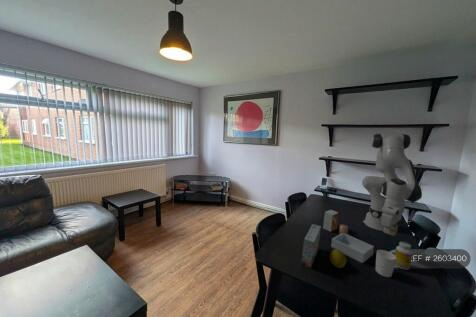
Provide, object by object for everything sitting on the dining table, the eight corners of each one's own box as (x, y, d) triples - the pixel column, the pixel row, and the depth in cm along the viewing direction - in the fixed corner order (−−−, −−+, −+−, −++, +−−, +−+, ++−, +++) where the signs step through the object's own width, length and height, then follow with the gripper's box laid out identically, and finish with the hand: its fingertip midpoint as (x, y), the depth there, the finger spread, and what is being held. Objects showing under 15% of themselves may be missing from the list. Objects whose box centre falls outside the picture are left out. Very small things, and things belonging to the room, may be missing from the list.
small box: (330, 232, 137) (332, 214, 135) (322, 228, 142) (324, 211, 140) (337, 229, 141) (339, 212, 140) (329, 225, 147) (330, 209, 145)
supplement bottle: (405, 271, 99) (409, 248, 98) (390, 263, 105) (394, 241, 104) (412, 268, 102) (416, 246, 100) (397, 260, 108) (401, 239, 106)
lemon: (344, 274, 96) (346, 259, 95) (327, 268, 100) (329, 253, 99) (345, 262, 105) (347, 248, 104) (330, 257, 109) (331, 243, 108)
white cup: (370, 267, 102) (372, 249, 100) (384, 266, 102) (386, 249, 101) (382, 278, 94) (385, 259, 93) (397, 278, 95) (400, 259, 93)
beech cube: (386, 229, 115) (387, 221, 114) (396, 233, 111) (398, 225, 110) (383, 232, 112) (384, 224, 112) (393, 236, 108) (394, 227, 108)
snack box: (311, 269, 98) (314, 242, 96) (300, 265, 101) (303, 238, 99) (319, 249, 116) (321, 225, 114) (309, 245, 119) (311, 223, 117)
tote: (331, 247, 119) (332, 238, 118) (342, 240, 126) (343, 232, 126) (362, 263, 104) (363, 254, 104) (372, 255, 112) (373, 246, 111)
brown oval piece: (341, 232, 137) (342, 223, 136) (348, 236, 132) (349, 226, 132) (337, 234, 134) (338, 225, 133) (344, 238, 130) (346, 228, 129)
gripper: (393, 202, 118) (390, 223, 120) (380, 209, 106) (376, 232, 108) (406, 205, 113) (403, 227, 115) (394, 213, 101) (390, 237, 103)
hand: (390, 230), depth 112 cm, fingers closed on beech cube, 5 cm apart
